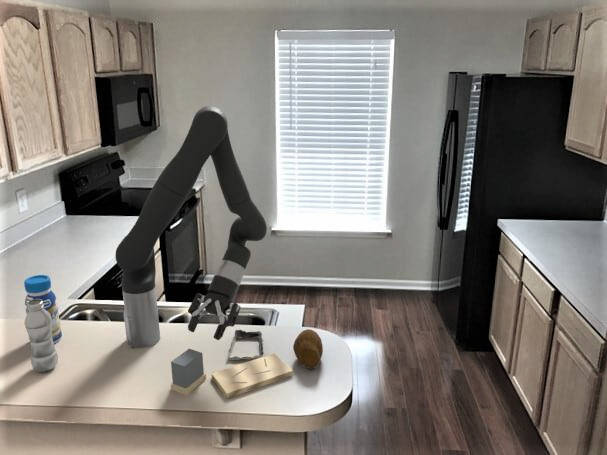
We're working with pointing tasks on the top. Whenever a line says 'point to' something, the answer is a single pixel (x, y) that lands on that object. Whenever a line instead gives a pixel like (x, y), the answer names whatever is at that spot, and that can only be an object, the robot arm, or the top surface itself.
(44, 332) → the plastic bottle
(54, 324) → the beverage bottle
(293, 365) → the top surface
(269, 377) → the pine board
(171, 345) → the top surface
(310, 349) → the potato
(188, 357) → the sanding block
